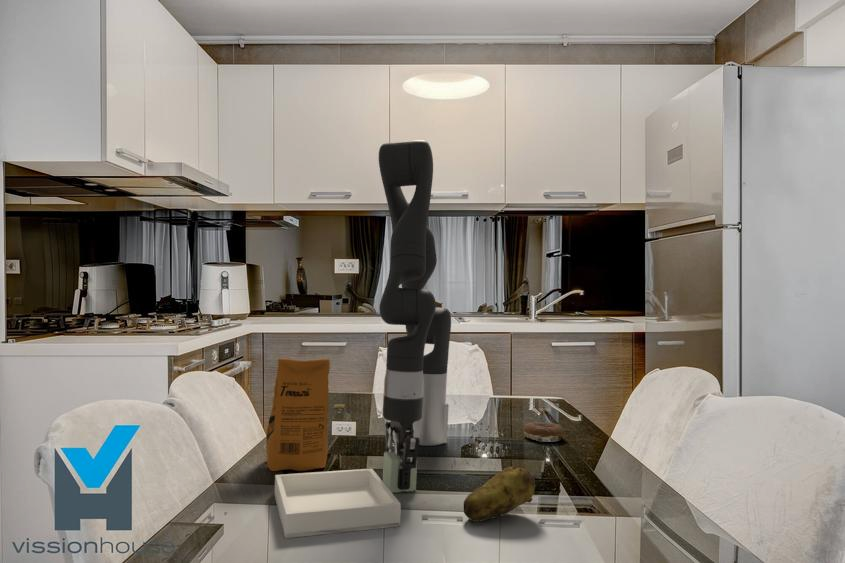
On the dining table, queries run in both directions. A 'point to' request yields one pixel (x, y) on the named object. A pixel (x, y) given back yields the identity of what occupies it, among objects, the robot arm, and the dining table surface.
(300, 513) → the bin
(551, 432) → the donut
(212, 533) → the dining table surface
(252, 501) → the dining table surface
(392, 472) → the green cube
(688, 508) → the dining table surface
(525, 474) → the potato
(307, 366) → the coffee package
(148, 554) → the dining table surface
